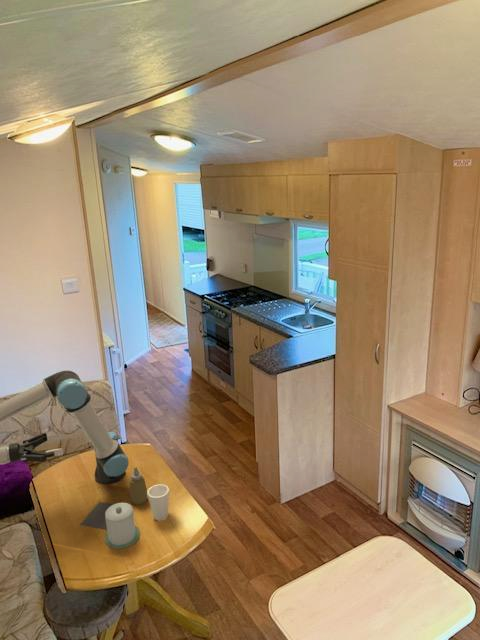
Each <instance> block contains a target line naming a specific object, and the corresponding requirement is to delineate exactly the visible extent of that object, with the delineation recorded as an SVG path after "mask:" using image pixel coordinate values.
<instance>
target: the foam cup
mask: <svg viewBox="0 0 480 640" xmlns="http://www.w3.org/2000/svg"><path fill="white" fill-rule="evenodd" d="M147 500H148V502H149V505H150V510H151V512H152V517H153V519H154V520H155V521H157V520H158V521H157V522H159V520H162V521H164V520H166V519H167V518H168V516H169V505H170V503H169V502H170V501H169V500H170V488H169V487H168V486H167V485H166V484H163V483H160V484H155V485H151V487H150V488H147Z"/></svg>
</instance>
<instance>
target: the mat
mask: <svg viewBox="0 0 480 640" xmlns="http://www.w3.org/2000/svg"><path fill="white" fill-rule="evenodd" d="M114 504H115V503H109V502H104V501H99V502H98V503H97V504H96V505H95V507H94V508H93V509H92V510H91V511H90V512H89V513H88V515H87V516H86V517H85V518H84V520H82V522H80V524H79V525H80V526H83V527H84V526H85V527H88V528H89V527H90V528H95V529H99V530H106V531H107V525H106V518H105V512H106V510H107V509H108V508H109V507H110V506H112V505H114Z"/></svg>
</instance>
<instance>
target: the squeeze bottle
mask: <svg viewBox="0 0 480 640" xmlns="http://www.w3.org/2000/svg"><path fill="white" fill-rule="evenodd" d="M130 475H131V476H130V479H129V497H130V499H131V501H132V503H133V504H134V505H136V506H139V505H143V504H145V503H146V501H147V499H148V494H147V491H148V488H147V484H146V481H145V480H146V479H145V477H144V476H143V474H142V472H141V471H139V468H138V467H137V466H135V467H134V468H133V473H131V474H130Z"/></svg>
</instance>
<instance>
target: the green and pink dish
mask: <svg viewBox="0 0 480 640" xmlns="http://www.w3.org/2000/svg"><path fill="white" fill-rule="evenodd" d="M135 532H136V535H135V537H134V538H133V540H132V541H130V542H128V543H127V544H123V545H115V544H112V543H111V542H110V541H109V539H108V532H107V533H106V534H105V537H104V538H105V544H106V546H108V547H109V548H112V549H115V550H118V549H119V550H121V549H125V548H129V547H131V546H132V545H134V544H136V543H137V542H138V541H139V539H140V533H141V532H140V529H139V527H138V526H136V525H135Z"/></svg>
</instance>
